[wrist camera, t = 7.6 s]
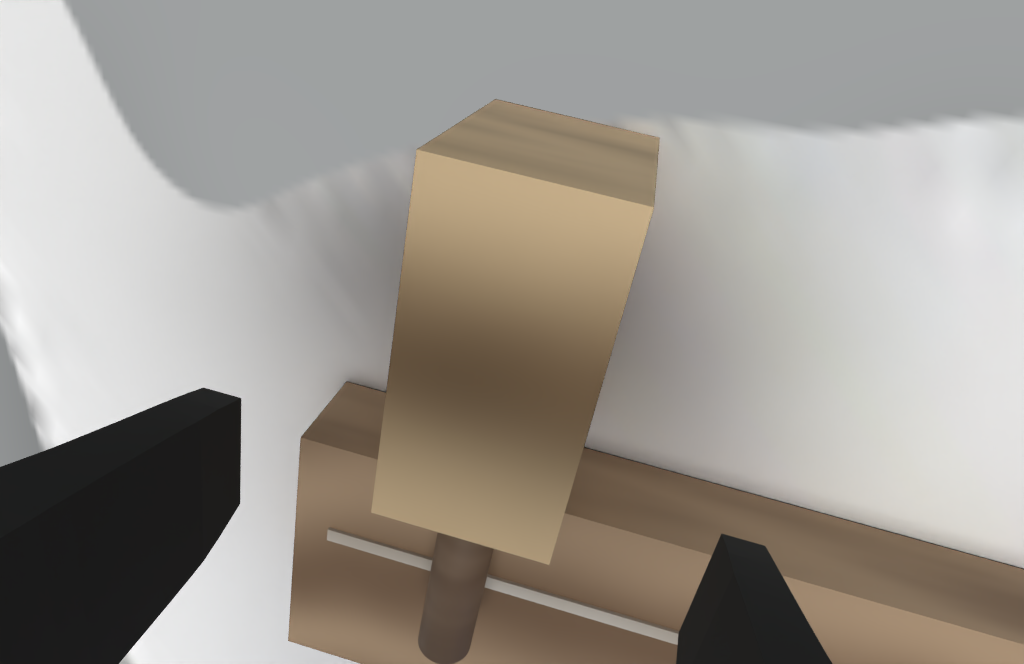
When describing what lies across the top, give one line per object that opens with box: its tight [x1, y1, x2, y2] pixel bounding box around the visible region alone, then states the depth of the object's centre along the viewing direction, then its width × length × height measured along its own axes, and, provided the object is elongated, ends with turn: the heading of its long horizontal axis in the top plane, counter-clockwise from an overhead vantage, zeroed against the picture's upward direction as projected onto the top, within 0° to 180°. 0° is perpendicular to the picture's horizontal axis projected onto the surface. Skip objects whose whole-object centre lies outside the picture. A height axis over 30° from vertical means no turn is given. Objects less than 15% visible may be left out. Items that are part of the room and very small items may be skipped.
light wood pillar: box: [371, 99, 659, 664], centre depth 17 cm, size 13×4×6 cm, turn 169°
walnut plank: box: [288, 382, 1024, 664], centre depth 21 cm, size 8×24×3 cm, turn 79°
